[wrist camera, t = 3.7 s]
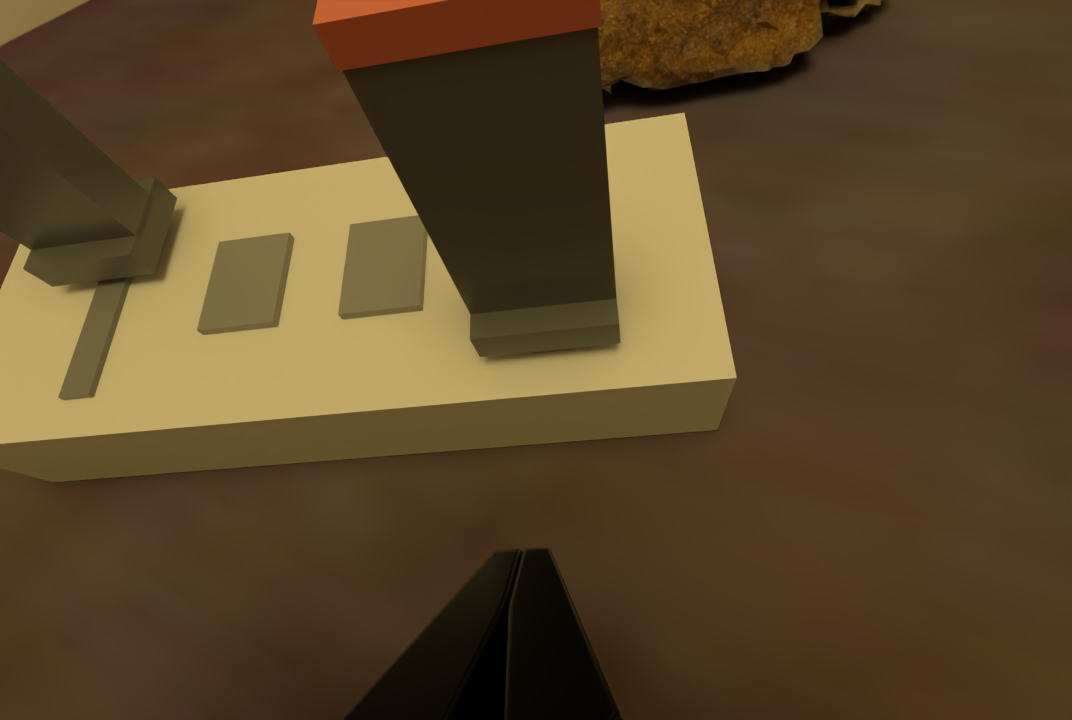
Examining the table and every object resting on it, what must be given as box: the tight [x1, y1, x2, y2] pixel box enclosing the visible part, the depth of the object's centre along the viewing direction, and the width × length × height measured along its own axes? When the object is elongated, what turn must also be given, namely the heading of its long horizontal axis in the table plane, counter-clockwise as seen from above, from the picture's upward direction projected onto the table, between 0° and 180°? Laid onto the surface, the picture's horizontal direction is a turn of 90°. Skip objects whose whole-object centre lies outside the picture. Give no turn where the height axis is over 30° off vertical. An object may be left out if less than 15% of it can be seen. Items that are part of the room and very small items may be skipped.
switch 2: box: [313, 0, 621, 357], centre depth 12 cm, size 3×4×9 cm
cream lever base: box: [0, 113, 736, 482], centre depth 19 cm, size 9×23×4 cm, turn 92°
